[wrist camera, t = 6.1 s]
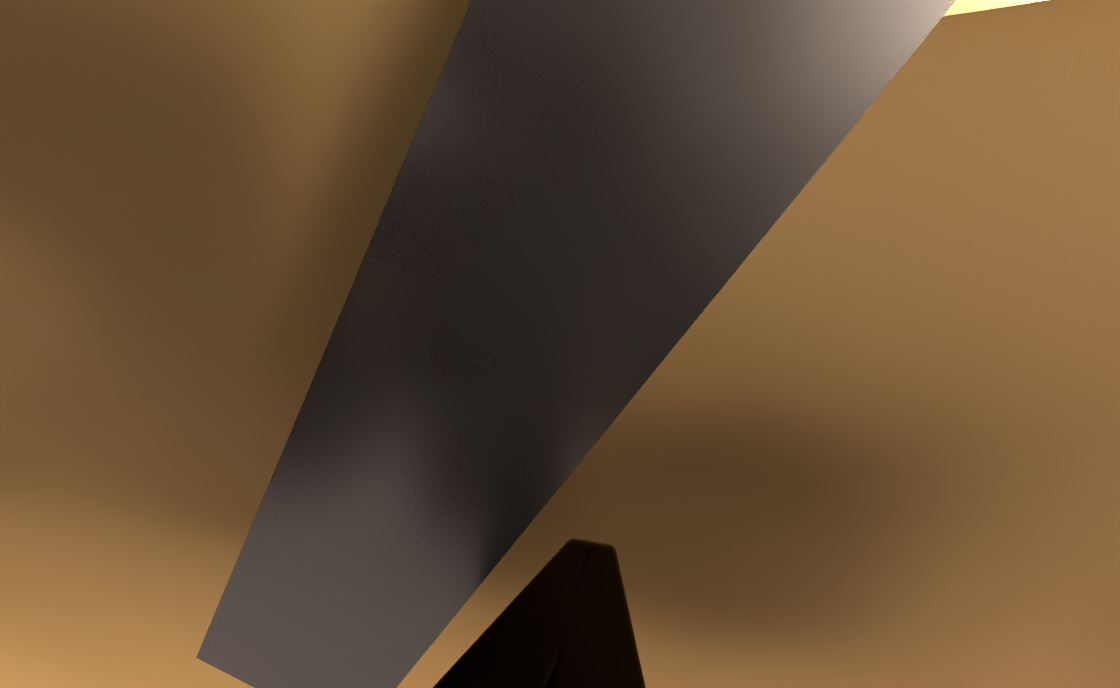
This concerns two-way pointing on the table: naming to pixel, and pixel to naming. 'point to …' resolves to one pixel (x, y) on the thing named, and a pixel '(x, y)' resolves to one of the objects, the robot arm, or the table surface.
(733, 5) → the lock bar
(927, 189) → the table surface
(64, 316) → the table surface
